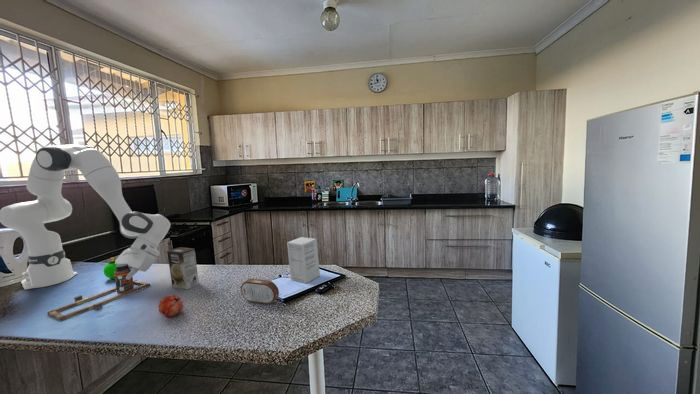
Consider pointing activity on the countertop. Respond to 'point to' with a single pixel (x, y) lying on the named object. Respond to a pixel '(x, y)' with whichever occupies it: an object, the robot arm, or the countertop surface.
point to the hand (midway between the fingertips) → (121, 277)
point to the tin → (259, 291)
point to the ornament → (110, 269)
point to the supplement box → (303, 259)
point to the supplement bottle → (120, 281)
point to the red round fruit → (170, 305)
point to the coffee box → (183, 267)
